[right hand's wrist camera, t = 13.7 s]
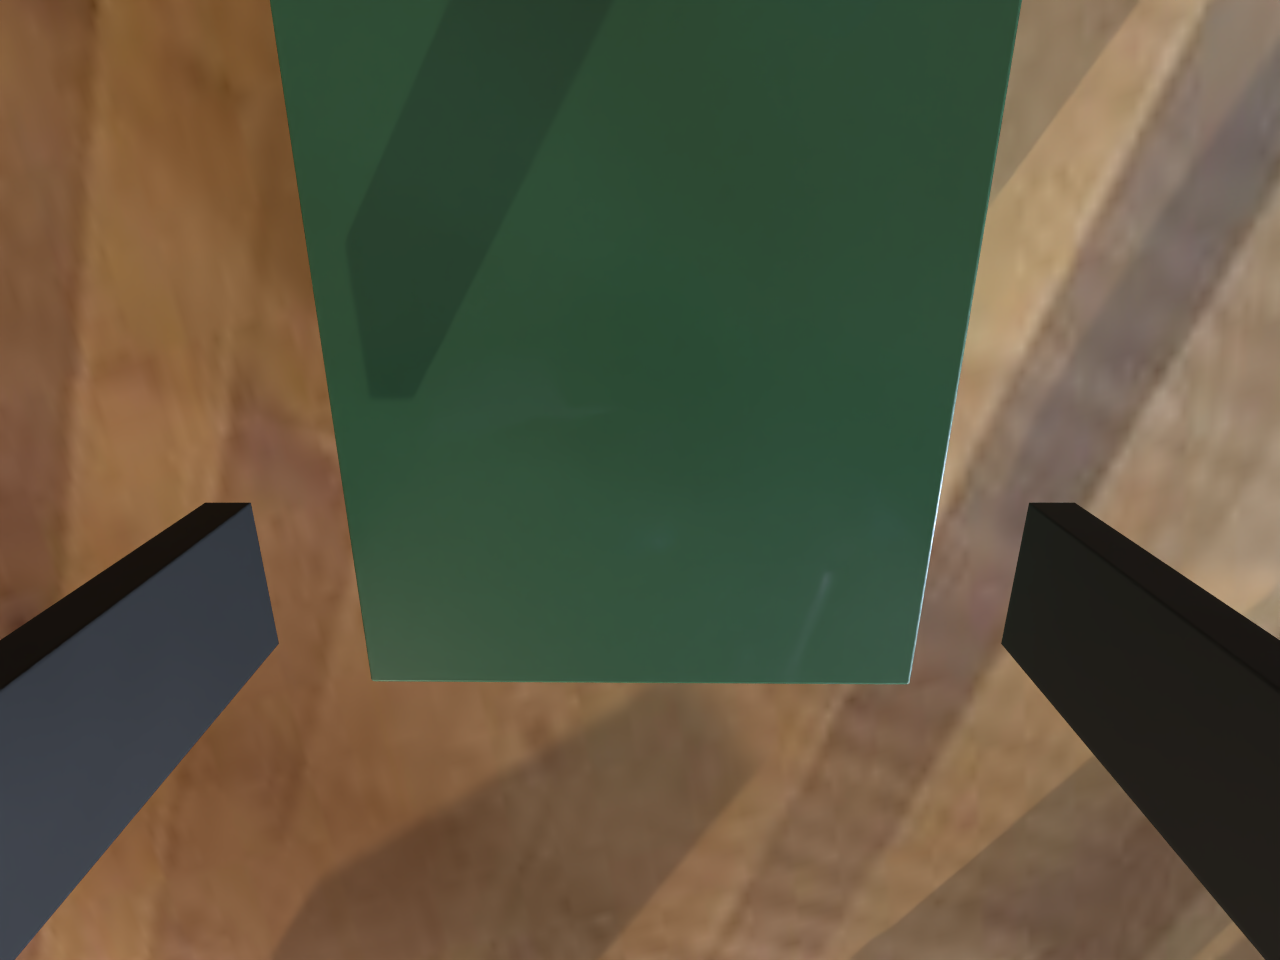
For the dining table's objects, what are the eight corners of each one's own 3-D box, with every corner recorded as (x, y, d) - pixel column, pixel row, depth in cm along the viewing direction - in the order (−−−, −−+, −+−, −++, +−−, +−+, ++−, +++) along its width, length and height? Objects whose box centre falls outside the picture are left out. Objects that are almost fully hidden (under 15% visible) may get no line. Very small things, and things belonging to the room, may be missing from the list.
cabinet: (443, -110, 20) (192, -502, 9) (846, -106, 20) (1105, -494, 9) (486, 476, 26) (370, 682, 15) (795, 478, 26) (910, 685, 15)
